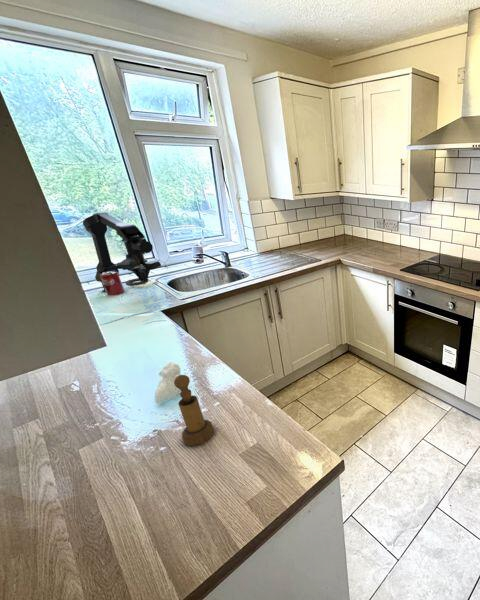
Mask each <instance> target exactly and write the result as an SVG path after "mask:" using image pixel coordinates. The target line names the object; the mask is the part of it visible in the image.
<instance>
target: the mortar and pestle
mask: <svg viewBox="0 0 480 600" xmlns="http://www.w3.org/2000/svg"><path fill="white" fill-rule="evenodd" d="M190 381H191V379H190V377H189V376H187V375H186V374H181V375H180V376H178V377H176V378H175V380H174V385H175V386H176V387H177V388H179V389H180V390H181V393H180V394H179V396H180V399H179V401H178V402H177V404H178V407H179V411H180V413H181V416H182V419H183V422H184V425H185V428H184V429H183V430H182V434H181V437H182V440H183V443H184V444H185V446H187V447H196V446H200V445H201V444H203V443H205V442H207V441H208V440H209V439H211V437H212V436H213V435H214V427H213V423H212V422H211V421H210V420H208V419H205V418H204V415H203V412H202V409H201V405H200V402H199V398H198V396H196V395H192V389H189V385H190Z"/></svg>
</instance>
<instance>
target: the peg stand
mask: <svg viewBox="0 0 480 600" xmlns="http://www.w3.org/2000/svg"><path fill="white" fill-rule="evenodd" d="M153 284H158V280H149V281H148V282H147V283H145V284H142V285H136V286H129V287H130V288H147V287H149V286H152V285H153Z"/></svg>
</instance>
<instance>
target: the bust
mask: <svg viewBox="0 0 480 600" xmlns="http://www.w3.org/2000/svg"><path fill="white" fill-rule="evenodd" d="M180 375H182V373H181V367H180V365H179V363H174V362H173V361H171V362H169V363H168V364H166V365H164V366H163V367H162V370H161V371H160V372H158V376H159V377H161V378H160V380H159V381H158V385H157V388H156V390H155V392H154V402H155V403H156V404H157V405H162V404H164V403H165V402H167V401H168V400H172V399H175V398H177V397H178V396H180V393H181V390H180V389H179V388H177V387H176V386H175V385H174V380H175V378H176V377H178V376H180Z"/></svg>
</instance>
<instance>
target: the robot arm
mask: <svg viewBox="0 0 480 600" xmlns="http://www.w3.org/2000/svg"><path fill="white" fill-rule="evenodd" d="M82 225H83V227H84V229H85V231H86V232H87V233H89V234H90V235H91V237H92V241H93V245H94V248H95V252H96V257H97V260H98V263H97V265H96V272H95V277H94V279H95V281H96V282H99V283H101V285H102V288H103V290H101V293H106V290H105V287H104V285H103V282H102V279H101V277H100V275H101V273H104V272H108V271H117V272H118V274H119V275H120V270H122V271H129V272H131V273H133V274H134V275H135V276H136V277H137V278H139V279H140V280H141V281H143V280H144V281H145V282H146V281H147V279H149V275H150V272H151V270H155V269H158V268H161V267H162V264H161V262H160V261H158V260H151V261H148V259H145V256H144V255H146V254H149V253H151V252H152V251H153V247H154V246H153V244H152V243H151V242H150V241H148V240H147V238H146V237H145V235H144V233H143V232H142V231H141V230H140V229H139V227H137V226H136V225H135V224H133V223H130V222H124V221H121V220H119V219H117V218H116V217H114V216H112V215H110V214H109V213H108V212H106V211H101V212H95V213H93V214H92V215H90V216H88V217H86V218H84V220H83V221H82ZM108 227H109V228H111V229H112V230H114V231H116V235H118V237H120V238H121V243H124V246H125V249H126V253H127V254H125V258H124V259H123V260H121V261H119V262H117V264H115V263H114V262H113V261H112V259H111V256H110V255H111V254H110V251H109V248H108V244H107V243H108V242H107V239H106V236H105V235H106V233H107V231H108Z"/></svg>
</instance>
